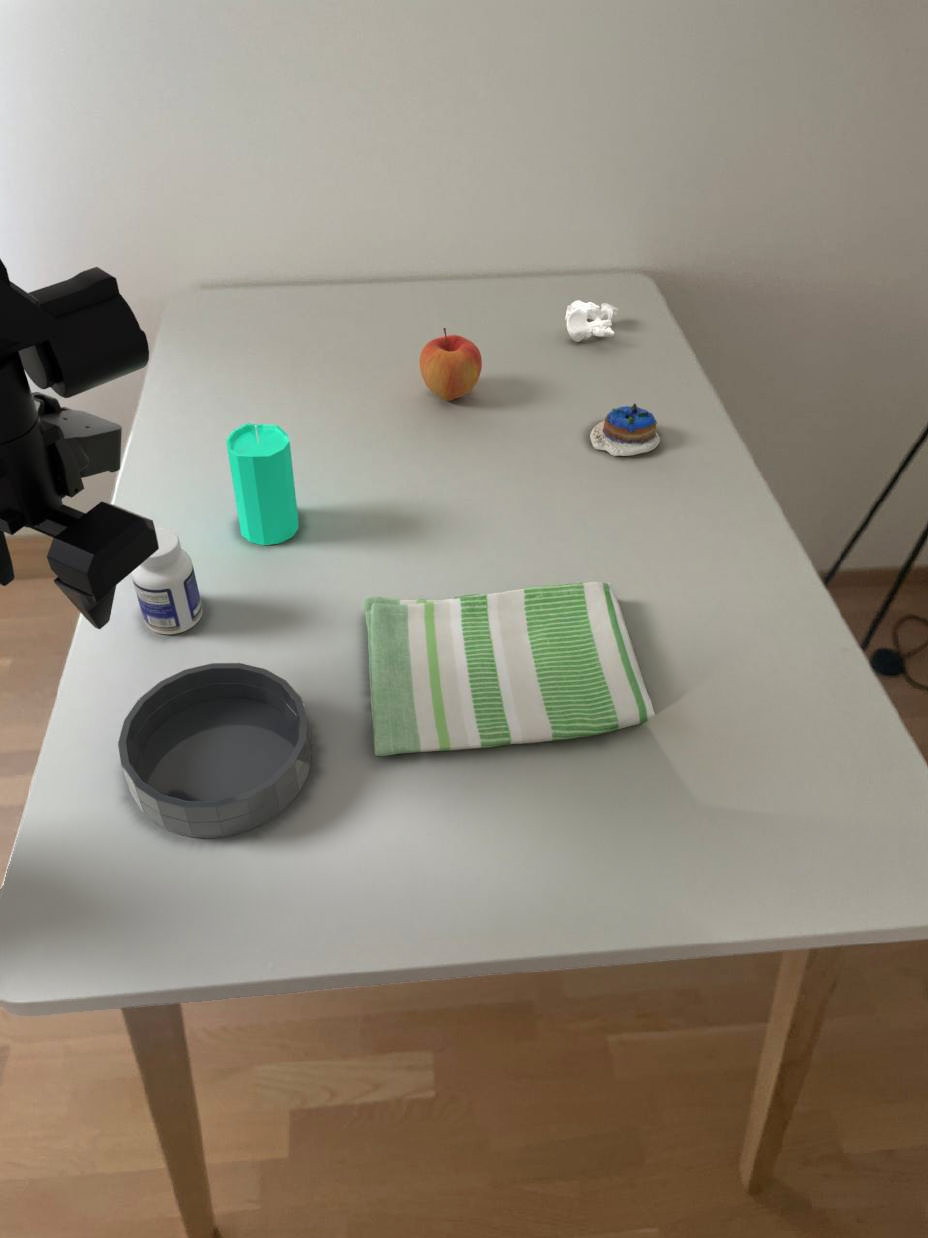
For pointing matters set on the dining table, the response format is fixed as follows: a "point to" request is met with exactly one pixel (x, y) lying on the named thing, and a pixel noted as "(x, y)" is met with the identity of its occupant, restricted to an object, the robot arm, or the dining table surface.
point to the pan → (216, 749)
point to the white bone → (582, 311)
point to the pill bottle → (168, 587)
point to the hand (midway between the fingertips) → (54, 603)
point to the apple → (450, 366)
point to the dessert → (626, 432)
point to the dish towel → (501, 669)
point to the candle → (263, 483)
